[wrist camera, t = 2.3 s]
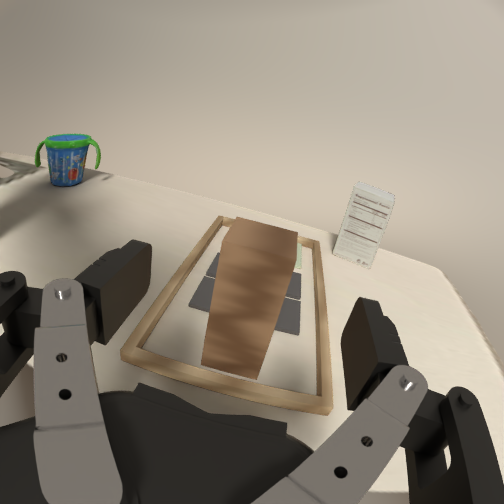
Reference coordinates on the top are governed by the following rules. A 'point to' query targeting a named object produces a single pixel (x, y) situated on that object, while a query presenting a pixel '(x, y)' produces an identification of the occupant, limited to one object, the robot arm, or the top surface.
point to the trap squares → (289, 310)
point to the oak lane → (226, 383)
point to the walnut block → (248, 295)
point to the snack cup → (67, 157)
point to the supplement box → (364, 224)
